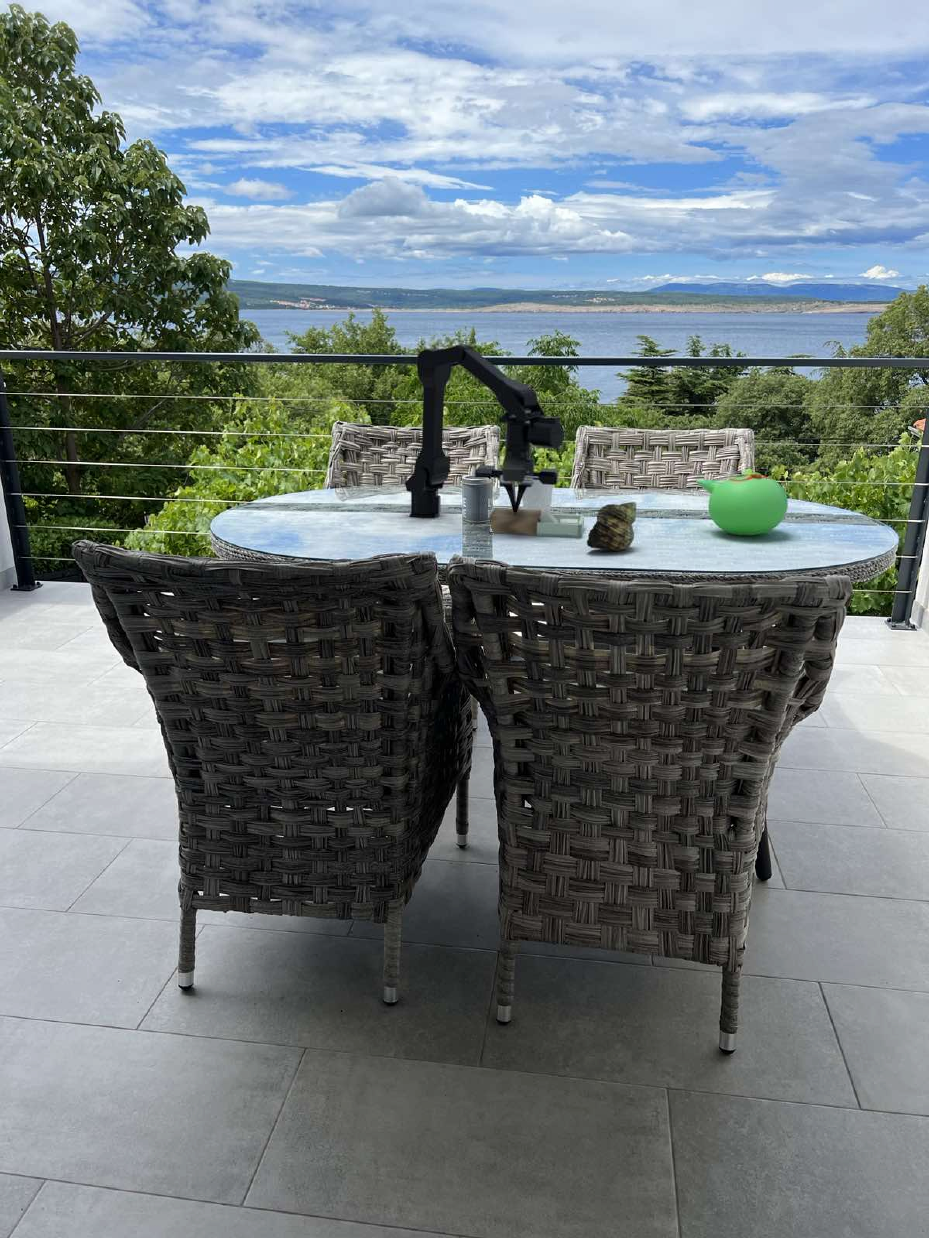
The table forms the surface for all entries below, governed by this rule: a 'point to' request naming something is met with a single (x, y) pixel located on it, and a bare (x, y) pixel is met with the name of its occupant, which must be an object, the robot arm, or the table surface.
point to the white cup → (538, 496)
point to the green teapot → (746, 503)
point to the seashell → (613, 527)
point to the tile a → (547, 517)
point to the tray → (562, 527)
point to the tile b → (569, 521)
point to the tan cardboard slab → (514, 521)
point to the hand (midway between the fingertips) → (515, 512)
